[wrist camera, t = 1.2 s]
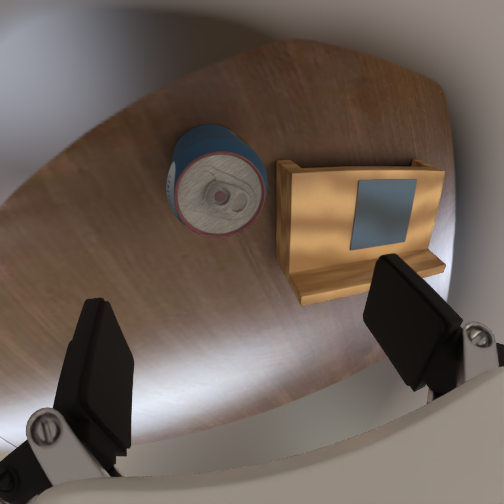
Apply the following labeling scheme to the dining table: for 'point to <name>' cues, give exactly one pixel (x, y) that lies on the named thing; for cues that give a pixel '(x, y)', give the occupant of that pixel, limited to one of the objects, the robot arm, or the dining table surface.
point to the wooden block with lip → (353, 224)
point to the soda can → (215, 182)
